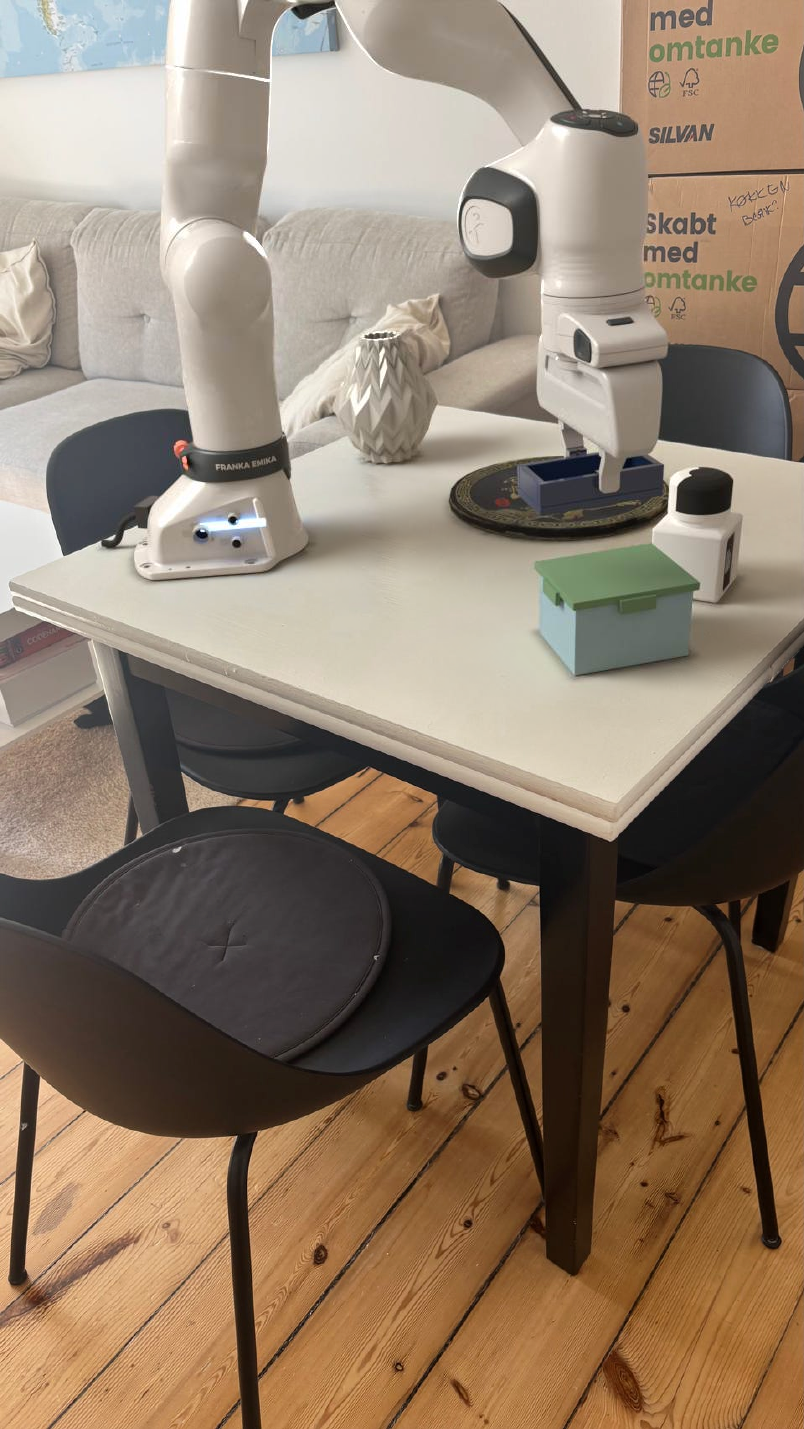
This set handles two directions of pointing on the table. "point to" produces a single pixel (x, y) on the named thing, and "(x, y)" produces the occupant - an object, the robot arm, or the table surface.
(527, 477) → the low blue storage tray
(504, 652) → the table surface
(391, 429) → the vase
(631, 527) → the decorative plate
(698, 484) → the container
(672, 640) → the box
